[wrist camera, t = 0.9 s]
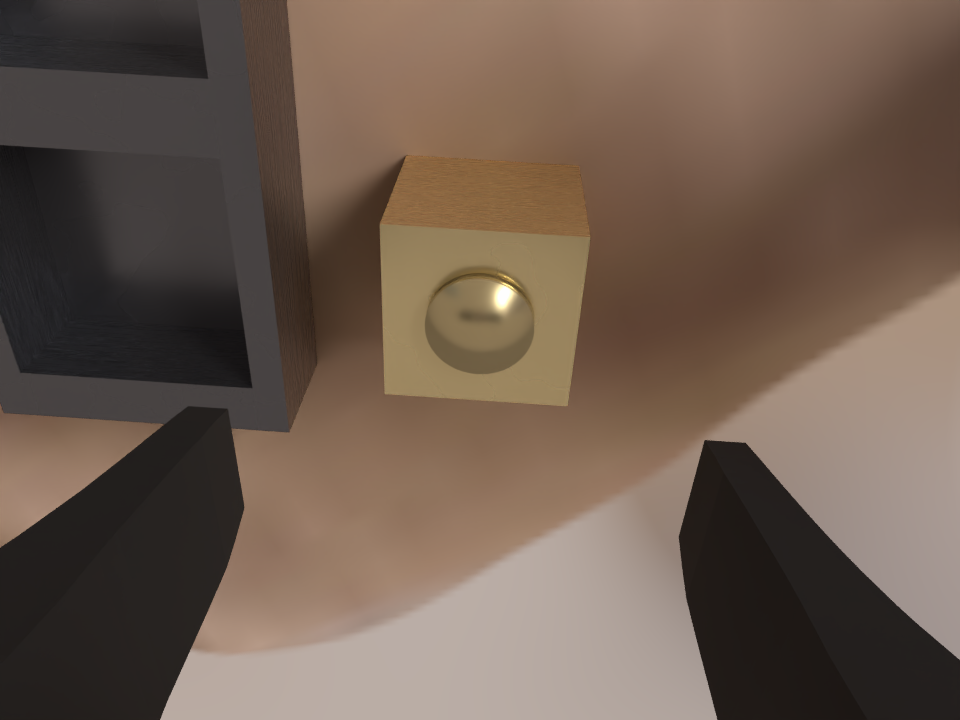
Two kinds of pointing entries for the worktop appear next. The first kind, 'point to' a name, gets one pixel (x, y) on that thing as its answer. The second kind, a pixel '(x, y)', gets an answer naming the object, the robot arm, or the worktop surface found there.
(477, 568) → the worktop surface
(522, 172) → the wooden knob block
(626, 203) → the worktop surface
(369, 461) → the worktop surface
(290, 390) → the cabinet frame
